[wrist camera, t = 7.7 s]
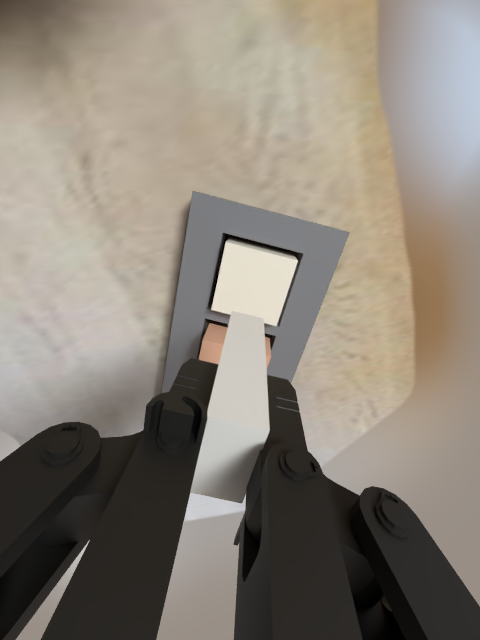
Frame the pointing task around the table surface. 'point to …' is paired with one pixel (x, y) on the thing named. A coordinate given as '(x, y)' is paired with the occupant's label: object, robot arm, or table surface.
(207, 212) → the keypad board
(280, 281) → the cream square block
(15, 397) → the table surface
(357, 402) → the table surface
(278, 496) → the robot arm
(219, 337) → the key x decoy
